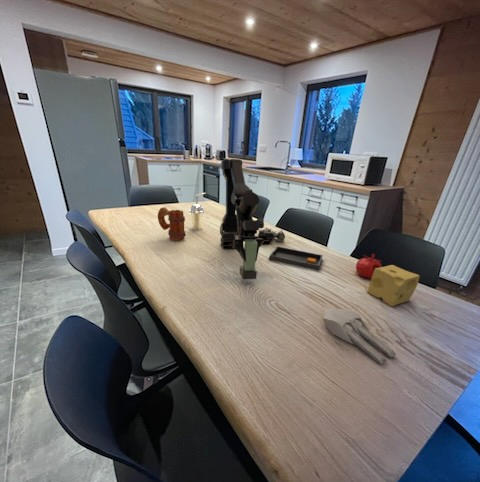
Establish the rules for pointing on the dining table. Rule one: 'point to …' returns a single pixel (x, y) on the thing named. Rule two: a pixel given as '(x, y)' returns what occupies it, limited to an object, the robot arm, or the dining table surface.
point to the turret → (355, 331)
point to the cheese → (393, 284)
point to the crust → (311, 260)
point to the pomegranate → (367, 266)
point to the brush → (249, 260)
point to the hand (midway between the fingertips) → (250, 261)
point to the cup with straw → (196, 214)
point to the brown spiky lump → (279, 236)
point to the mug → (172, 223)
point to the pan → (295, 257)
